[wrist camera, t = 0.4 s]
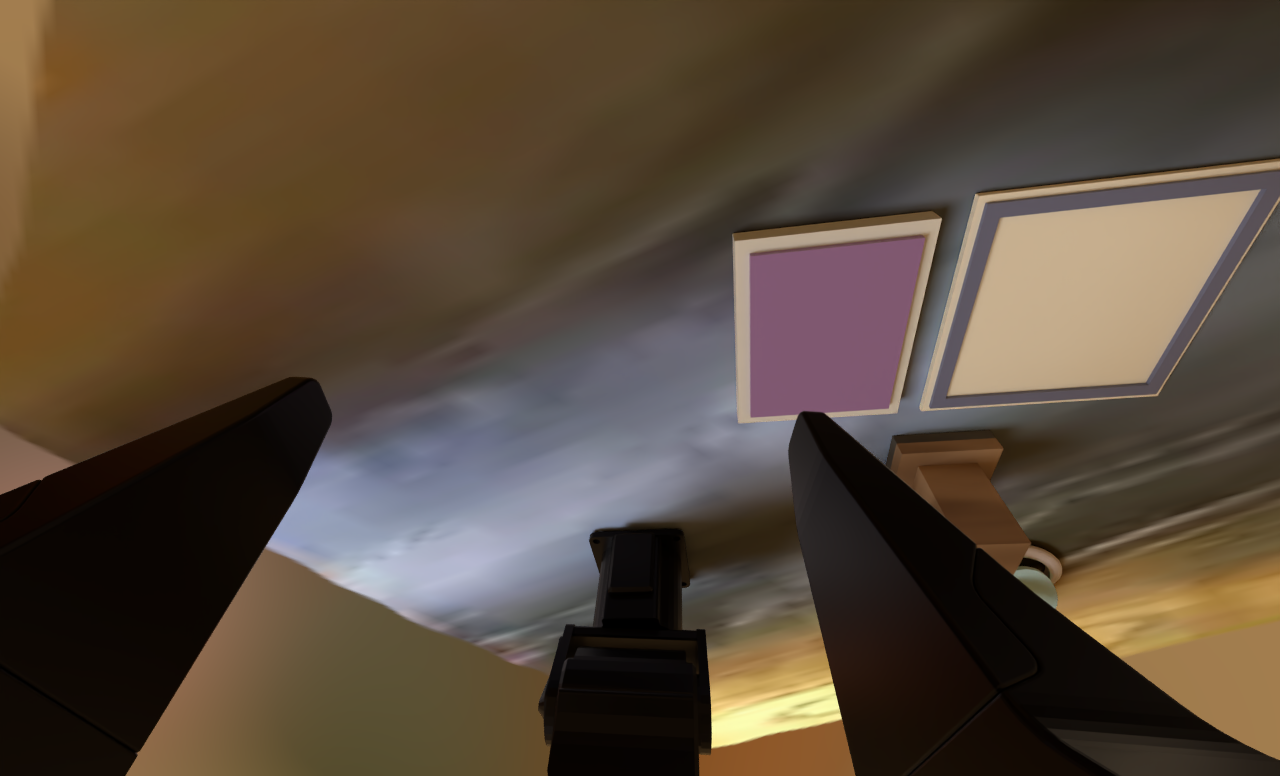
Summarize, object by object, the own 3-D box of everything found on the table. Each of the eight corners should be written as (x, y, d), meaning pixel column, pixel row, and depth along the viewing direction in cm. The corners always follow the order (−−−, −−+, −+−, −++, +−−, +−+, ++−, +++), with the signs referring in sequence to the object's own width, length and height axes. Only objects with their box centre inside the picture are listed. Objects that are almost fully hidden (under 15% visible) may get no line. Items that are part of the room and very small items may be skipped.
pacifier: (1015, 523, 32) (933, 567, 35) (1082, 617, 27) (980, 659, 30) (1075, 566, 34) (994, 603, 37) (1148, 660, 29) (1046, 694, 32)
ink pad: (891, 402, 26) (899, 416, 25) (736, 412, 27) (739, 427, 26) (932, 210, 20) (945, 220, 19) (732, 233, 21) (735, 243, 20)
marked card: (1152, 391, 25) (1160, 398, 24) (919, 407, 26) (922, 413, 26) (1297, 156, 18) (1311, 159, 18) (975, 193, 19) (981, 197, 19)
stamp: (965, 490, 30) (1026, 590, 25) (878, 494, 30) (919, 592, 25) (989, 429, 27) (1063, 528, 22) (892, 435, 27) (942, 533, 22)
